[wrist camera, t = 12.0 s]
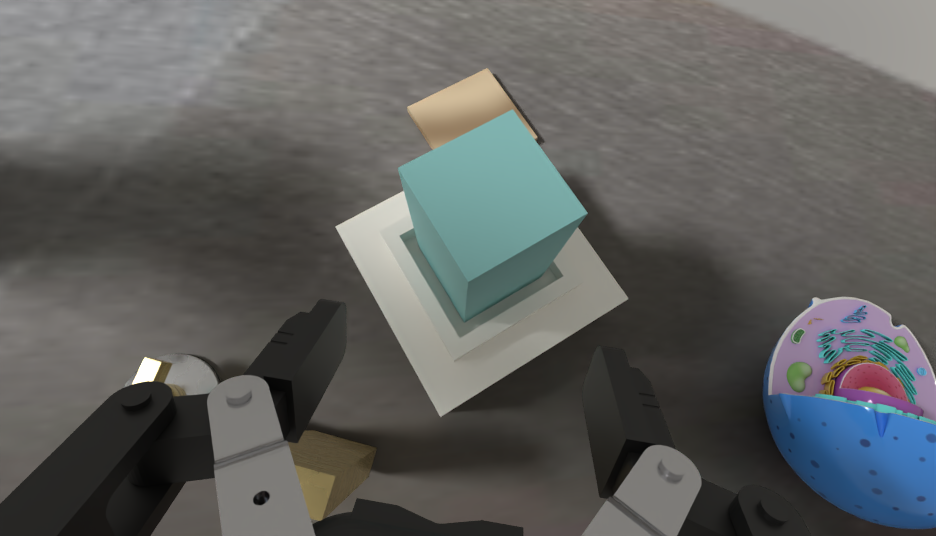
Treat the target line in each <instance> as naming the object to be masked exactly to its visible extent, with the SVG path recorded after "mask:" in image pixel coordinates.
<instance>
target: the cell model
mask: <svg viewBox="0 0 936 536" xmlns="http://www.w3.org/2000/svg"><path fill="white" fill-rule="evenodd" d="M762 397H763V406H764V411H765V415H766V419H767V423H768V427H769V430H770V433H771V435H772V438H773V440H774V442H775V445H776V446H777V448H778V450H779V451H780V453H781V455H782V457H783V458H784V460H785V461H786V462H787V463H788V465H789V466H790V467H791V468H792V470H793V471H794V472H795V473H796V474H797V475H798V477H799V478H800V479H801V480H803V481H804V482H805V483H806V484H807V485H808V486H809V487H810V488H811V489H812V490H813V491H814V492H815V493H817V494H818V495H819V496H821V497H822V498H824V499H825V500H826V501H828V502H829V503H831V504H832V505H834V506H835V507H837V508H839V509H841V510H843V511H845V512H847V513H849V514H851V515H853V516H855V517H857V518H860V519H862V520H865V521H869V522H872V523H875V524H879V525H882V526H886V527H892V528H901V529H912V530H921V529H931V528H936V377H935V374H934V372H933V369H932V366H931V364H930V362H929V360H928V358H927V356H926V354H925V352H924V350H923V349H922V347H921V345H920V344H919V342H918V341H917V339H916V338H915V336H914V335H913V334H912V332H911V331H910V330H909V329H908V328H907V327H906V326H905V325H898V326H894V325H893V324H892V321H891V314H890V313H888V312H887V311H885V310H884V309H882V308H881V307H879V306H877V305H875V304H873V303H871V302H869V301H866V300H863V299H859V298H854V297H836V298H830V299H825V300H820V299H819V298H817V297H814V298H813V299H812V300H811V302H810V304H809V306H808V308H807V309H806V310H805V311H803V312H802V313H801V314H800V315H799V316H797V317H796V318H795V319H794V320H793V322H792V323H791V324H790V325H789V326H788V327H787V328H786V330H785V331H784V332H783V333H782V335H781V336H780V337H779V339H778V341H777V342H776V344H775V345H774V347H773V349H772V351H771V354H770V356H769V358H768V361H767V364H766V368H765V371H764V377H763V386H762Z"/></svg>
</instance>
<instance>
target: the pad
mask: <svg viewBox="0 0 936 536" xmlns="http://www.w3.org/2000/svg"><path fill="white" fill-rule="evenodd" d="M407 109H408V113H409V114H410V116H411V117H412V119H413V121H414V122H415V124H416V125H417V127H418V128H419V130H420V131H421V133H422V134H423V136H424V138H425V139H426V141H427V142H428V144H429V145H430V147H431V148H432V150H434V149H436V148H438V147H440V146H442V145H444V144H446V143H448V142H450V141H452V140H453V139H455V138H457V137H459V136H461V135H463V134H465V133H467V132H469V131H471V130H473V129H475V128H477V127H479V126H481V125H483V124H485V123H487V122H489V121H491V120H493V119H495V118H497V117H498V116H500V115H502V114H504V113H506V112H508V111H510V110H512V109H513V110H514V112H515V113H516V114H517V116H518V117H519V119H520V120H521V121H522V123H523V124H524V125H525V127H526V128H527V130H528V131H529V132H530V134H531V135H532V137H533V138H534V139H535V141H537V138H538V137H537V136H536V134H535V133H534V132H533V130H532V129H531V127H530V126H529V125H528V123H527V122H526V121H525V119H524V118H523V116H522V115H521V114H520V112H519V111H518V109H517V108H516V107H515V105H514V104H513V103H512V101H511V100H510V98H509V97H508V96H507V94H506V93H505V92H504V90H503V89H502V87H501V86H500V85H499V83H498V82H497V80H496V79H495V78H494V76H493V75H492V74H491V72H490V71H489V69H488V68H487V69H485V70H482V71H480V72H478V73H476V74H474V75H472V76H470V77H468V78H466V79H464V80H462V81H460V82H458V83H456V84H454V85H452V86H450V87H448V88H446V89H444V90H441V91H439V92H437V93H435V94H433V95H431V96H429V97H427V98H425V99H423V100H421V101H419V102H417V103H415V104H413V105H411V106H409V107H407Z"/></svg>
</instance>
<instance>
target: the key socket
mask: <svg viewBox="0 0 936 536" xmlns="http://www.w3.org/2000/svg"><path fill="white" fill-rule="evenodd" d="M156 359H159V360H163V361H166V362H170V363H173V364H172V366H171V369H170V371H169V373H168V375H167V378H166V380H165V382H164V383H167V384H175V385H178V386H179V387H181V388H182V389H183V391H184V392H185V395H198V394H207V393H210V392H211V391H212V390H213V389H214V388H215V387H216V386H217V385H218V384H220V380H219V378H218V376H217V374H216V372H215V371H214V370H213V368H212V367H211V366H210V365H209V364H208V363H206V362H205V361H204V360H202V359H200V358H198V357H195V356H191V355H185V354H169V355H164V356H161V357H158V358H156ZM139 369H140V368H139ZM139 369H138V370H137V371H136V372H135V373H134V374H133V375H132V377H131V378H130V379H129V380H128V382H127V383H126V385H125V386H124V388H125V387H127V386H129V385H132V384H133V382H134V379H135V377H136V375H137V373H138V371H139Z"/></svg>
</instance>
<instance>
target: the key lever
mask: <svg viewBox="0 0 936 536" xmlns="http://www.w3.org/2000/svg"><path fill="white" fill-rule="evenodd" d="M172 364H173V363H170V362H166V361H163V360H159V359H154V358H144V360H143V362H142V364H141V366H140V369H139V371H138V373H137V375H136V377H135V379H134V382H133V384H135V383H139V382H145V381H158V382H162V383H164V382H165V380H166V378H167V375H168V373H169V371H170V369H171V366H172ZM165 384H167V383H165ZM167 385H168V386H169V387H170V388H171V390H172V393H173V396H185V392H184V391H183V389H182V388H181V387H179V386H178V385H175V384H167ZM288 445H289V448H290V451H291V455H292V458H293V461H294V465H295V468H296V472H297V475H298V478H299V482H300V485H301V488H302V492H303V495H304V499H305V502H306V505H307V509H308V512H309V516H310V518H311V519H315V520H318V521H320V520H322V519H324V518H326V517H327V516H328V515H329V514H330V513H331V512H332V511H333V510H334V509H335V508H336V507H337V506H338V505H339V504H340V503H341V502H342V501H343V500H345V499H346V498H347V497H348V496H349V495H350V494H351V493H352V492H353V491H354V490H355V489H356V488H357V487H358V486H359V485H360V484H361V483H362V482H364V481H365V480H366V479H367V478H368V477H369V473H370V470H371V467H372V463H373V460H374V456H375V453H376V449H377V448H376V447H372V446H369V445H365V444H361V443H358V442H354V441H350V440H347V439H343V438H339V437H336V436H332V435H328V434H325V433H321V432H318V431H314V430H310V431H306V430H304V432H303V434H302V436H301V438H300V440H299V442H298V443H291V442H288Z"/></svg>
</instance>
